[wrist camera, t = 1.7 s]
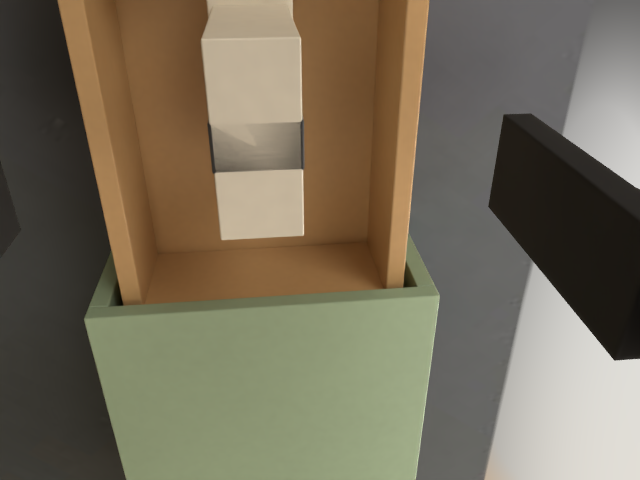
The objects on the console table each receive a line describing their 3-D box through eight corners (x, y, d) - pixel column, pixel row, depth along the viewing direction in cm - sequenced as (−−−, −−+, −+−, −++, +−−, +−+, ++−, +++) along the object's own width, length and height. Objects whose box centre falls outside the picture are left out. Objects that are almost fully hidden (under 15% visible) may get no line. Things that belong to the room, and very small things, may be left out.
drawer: (27, -284, 18) (-54, -355, 13) (427, -271, 20) (489, -331, 15) (133, 257, 29) (109, 329, 24) (390, 242, 30) (418, 308, 25)
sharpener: (209, -20, 22) (189, 18, 14) (287, -21, 22) (308, 16, 15) (225, 150, 25) (215, 255, 18) (291, 147, 26) (310, 249, 18)
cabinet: (119, 227, 29) (83, 319, 22) (399, 212, 30) (440, 295, 24) (166, 457, 38) (149, 570, 31) (380, 437, 39) (407, 543, 33)
